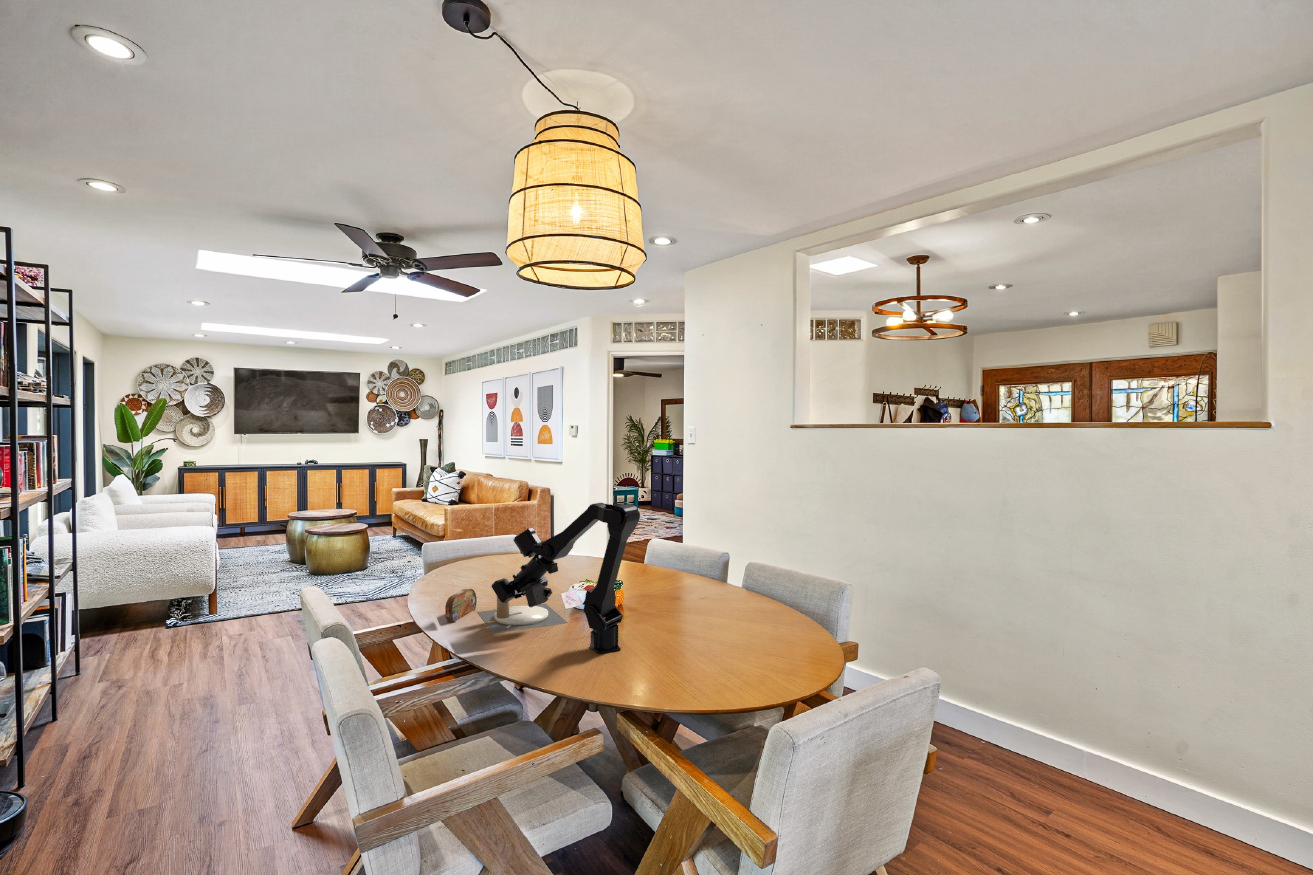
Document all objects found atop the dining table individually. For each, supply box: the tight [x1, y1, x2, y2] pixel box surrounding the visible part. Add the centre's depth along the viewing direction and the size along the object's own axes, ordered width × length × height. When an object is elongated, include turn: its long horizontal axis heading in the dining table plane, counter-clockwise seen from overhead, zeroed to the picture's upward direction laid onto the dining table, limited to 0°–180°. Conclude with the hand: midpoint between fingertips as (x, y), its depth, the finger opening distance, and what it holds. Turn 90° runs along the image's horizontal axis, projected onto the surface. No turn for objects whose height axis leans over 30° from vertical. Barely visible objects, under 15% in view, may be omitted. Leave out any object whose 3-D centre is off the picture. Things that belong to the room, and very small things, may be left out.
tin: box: [444, 588, 478, 623], centre depth 193 cm, size 15×3×8 cm, turn 168°
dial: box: [494, 596, 548, 625], centre depth 192 cm, size 16×16×11 cm
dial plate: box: [476, 603, 569, 634], centre depth 192 cm, size 22×22×1 cm
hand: (504, 601), depth 186 cm, fingers closed
